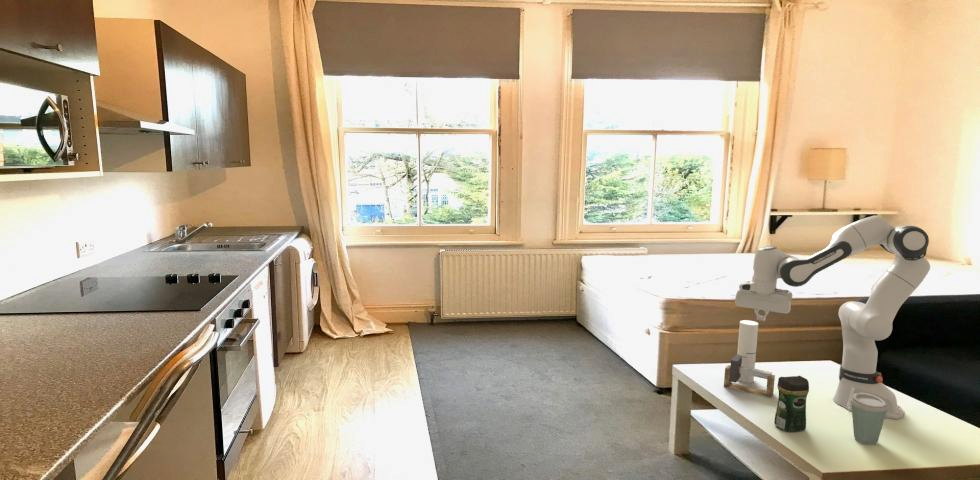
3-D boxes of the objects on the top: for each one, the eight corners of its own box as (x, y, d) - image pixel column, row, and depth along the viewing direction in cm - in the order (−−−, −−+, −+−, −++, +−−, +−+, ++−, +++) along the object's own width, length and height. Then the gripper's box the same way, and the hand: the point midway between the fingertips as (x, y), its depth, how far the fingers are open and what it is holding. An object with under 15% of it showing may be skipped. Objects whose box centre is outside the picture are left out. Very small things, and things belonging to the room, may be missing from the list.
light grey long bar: (771, 378, 228) (772, 371, 227) (770, 380, 225) (770, 373, 225) (729, 369, 237) (730, 362, 236) (727, 371, 235) (728, 364, 234)
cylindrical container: (755, 383, 240) (760, 325, 236) (737, 381, 241) (742, 324, 238) (751, 376, 247) (756, 320, 243) (733, 375, 248) (738, 319, 245)
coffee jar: (793, 421, 205) (798, 372, 202) (809, 431, 197) (814, 380, 194) (769, 423, 203) (774, 373, 201) (784, 433, 195) (789, 382, 193)
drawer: (773, 394, 228) (774, 375, 227) (771, 397, 225) (773, 378, 224) (726, 383, 239) (727, 365, 238) (723, 386, 236) (725, 367, 234)
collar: (740, 376, 237) (742, 356, 236) (735, 382, 231) (737, 361, 229) (734, 375, 239) (735, 354, 237) (729, 381, 232) (730, 360, 231)
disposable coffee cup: (891, 446, 188) (897, 403, 186) (866, 450, 185) (871, 406, 183) (862, 431, 198) (867, 390, 196) (838, 435, 195) (842, 393, 193)
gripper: (794, 289, 224) (790, 323, 226) (738, 282, 235) (736, 314, 237) (791, 292, 219) (788, 327, 220) (735, 284, 230) (732, 317, 232)
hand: (760, 320), depth 229 cm, fingers closed
